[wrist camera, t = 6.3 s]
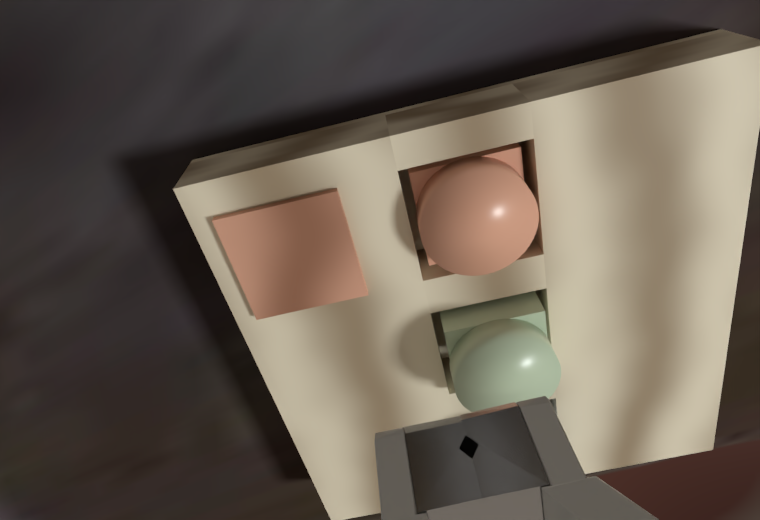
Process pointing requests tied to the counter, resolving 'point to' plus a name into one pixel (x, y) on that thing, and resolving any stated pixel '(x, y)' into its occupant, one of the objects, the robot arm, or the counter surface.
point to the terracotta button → (475, 210)
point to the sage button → (500, 351)
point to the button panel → (528, 273)
